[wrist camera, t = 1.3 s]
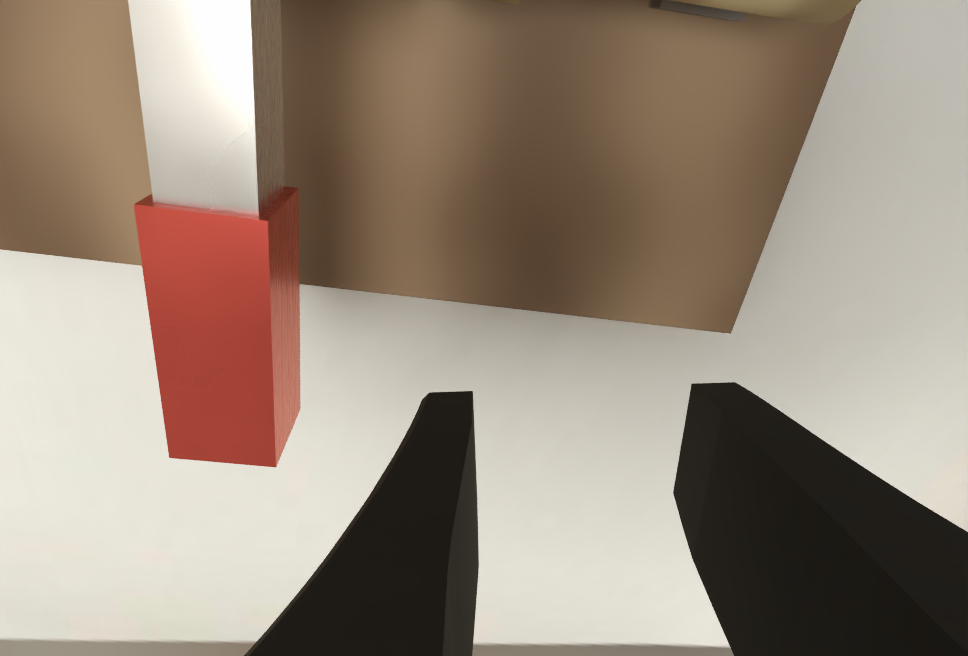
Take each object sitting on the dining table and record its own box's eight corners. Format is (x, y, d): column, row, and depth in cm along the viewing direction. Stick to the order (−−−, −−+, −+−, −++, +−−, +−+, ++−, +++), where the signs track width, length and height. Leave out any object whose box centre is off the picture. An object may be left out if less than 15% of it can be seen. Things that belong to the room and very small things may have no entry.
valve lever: (118, -353, 8) (18, -456, 6) (310, -315, 8) (266, -402, 6) (198, 399, 13) (158, 456, 11) (309, 409, 13) (286, 468, 12)
